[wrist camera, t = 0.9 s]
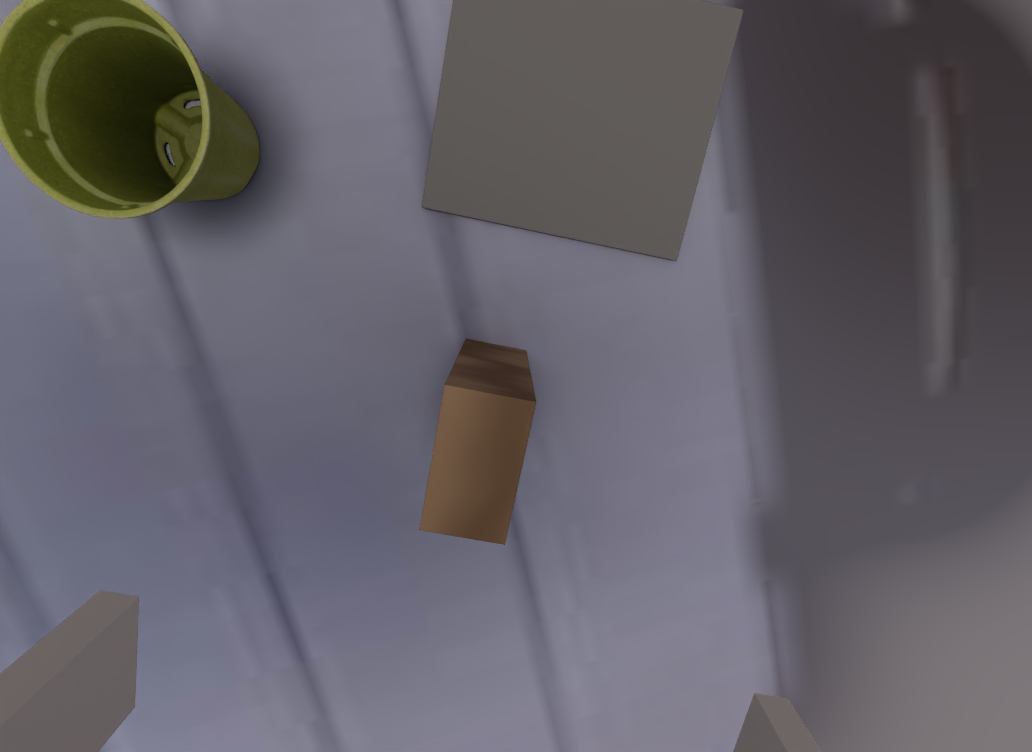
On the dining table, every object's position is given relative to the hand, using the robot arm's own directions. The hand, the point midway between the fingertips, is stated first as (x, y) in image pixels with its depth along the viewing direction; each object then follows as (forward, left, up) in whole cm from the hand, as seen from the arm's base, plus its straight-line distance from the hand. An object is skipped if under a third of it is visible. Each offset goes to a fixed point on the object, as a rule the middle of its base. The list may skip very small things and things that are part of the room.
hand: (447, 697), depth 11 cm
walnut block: (0, 0, -24) cm, 24 cm away
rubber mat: (+2, +18, -24) cm, 30 cm away
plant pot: (-19, +12, -25) cm, 33 cm away
